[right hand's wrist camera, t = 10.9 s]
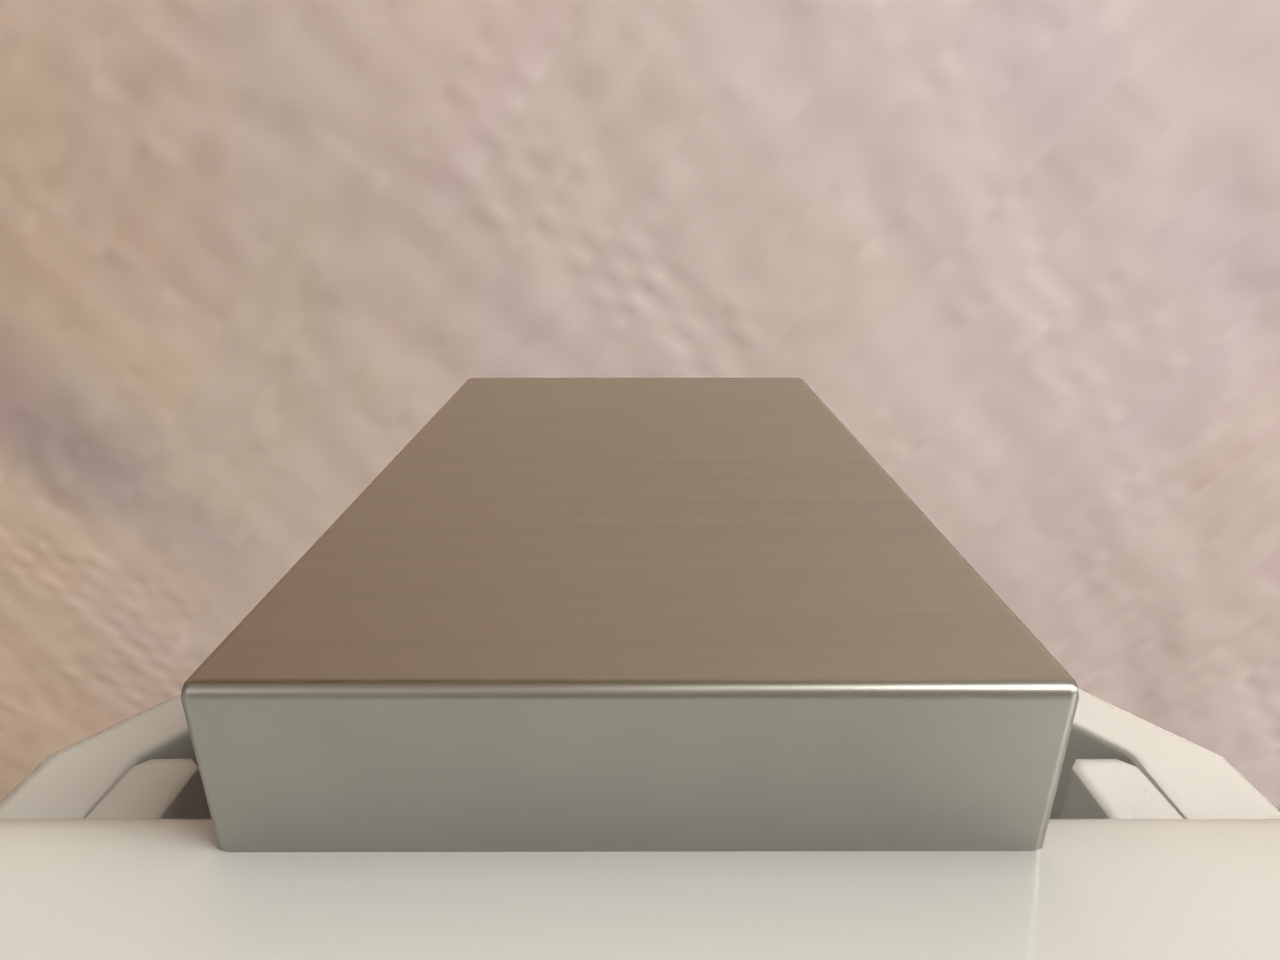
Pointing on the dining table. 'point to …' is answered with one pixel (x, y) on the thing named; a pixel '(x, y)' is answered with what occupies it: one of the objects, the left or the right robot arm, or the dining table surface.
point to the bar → (631, 646)
